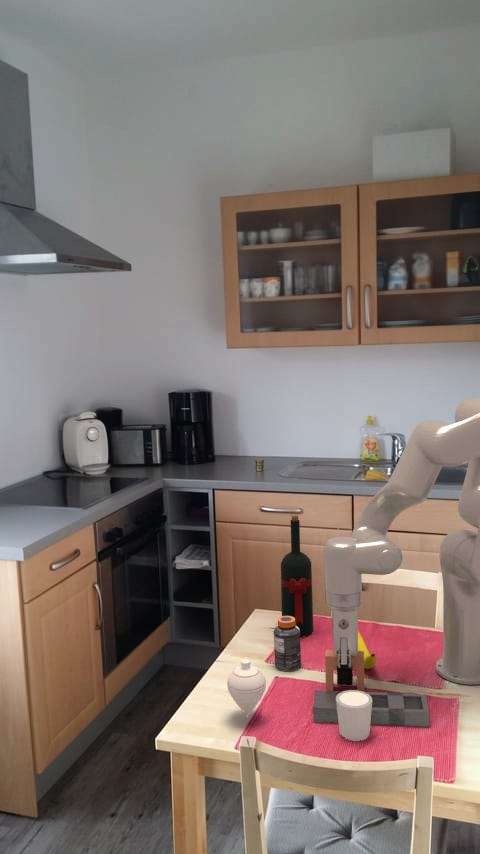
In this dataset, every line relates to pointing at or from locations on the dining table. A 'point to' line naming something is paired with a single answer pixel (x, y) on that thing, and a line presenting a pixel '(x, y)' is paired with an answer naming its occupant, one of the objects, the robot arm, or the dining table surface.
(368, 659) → the banana
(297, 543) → the wine bottle
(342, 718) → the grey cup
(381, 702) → the grey slotted block
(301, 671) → the dining table surface
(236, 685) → the spinning top
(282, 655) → the pill bottle
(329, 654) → the orange block
